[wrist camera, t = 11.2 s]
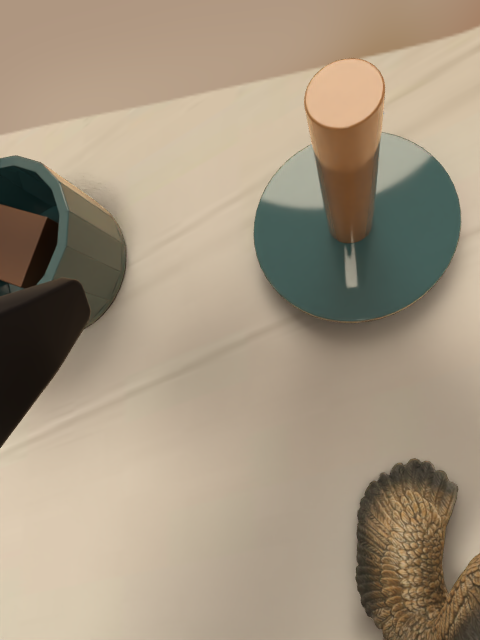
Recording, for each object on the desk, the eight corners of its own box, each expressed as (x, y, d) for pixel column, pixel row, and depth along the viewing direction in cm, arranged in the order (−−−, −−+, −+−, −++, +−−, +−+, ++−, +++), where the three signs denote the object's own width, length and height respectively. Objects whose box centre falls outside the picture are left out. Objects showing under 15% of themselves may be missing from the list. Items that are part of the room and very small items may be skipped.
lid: (357, 365, 20) (355, 345, 10) (223, 244, 23) (120, 136, 13) (503, 215, 19) (660, 30, 9) (344, 110, 22) (333, -114, 12)
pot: (56, 366, 25) (-19, 361, 20) (-15, 274, 28) (-97, 249, 23) (154, 257, 24) (100, 224, 19) (70, 173, 27) (5, 125, 22)
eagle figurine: (600, 727, 15) (581, 481, 15) (555, 939, 10) (527, 578, 10) (400, 619, 20) (386, 443, 20) (311, 722, 16) (292, 492, 16)
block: (71, 302, 25) (20, 287, 21) (24, 285, 26) (-33, 268, 22) (94, 242, 25) (47, 217, 21) (46, 228, 26) (-7, 202, 23)
